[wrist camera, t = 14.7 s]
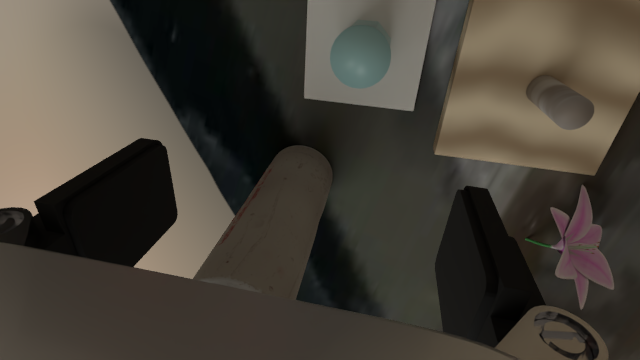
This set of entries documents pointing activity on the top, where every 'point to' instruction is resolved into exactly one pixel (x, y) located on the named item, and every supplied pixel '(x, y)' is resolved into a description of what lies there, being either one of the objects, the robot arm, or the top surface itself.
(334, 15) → the grey mat
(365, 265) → the top surface
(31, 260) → the robot arm
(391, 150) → the top surface
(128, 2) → the top surface
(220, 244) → the thermos bottle
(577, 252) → the lily
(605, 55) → the post block
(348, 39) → the cap
